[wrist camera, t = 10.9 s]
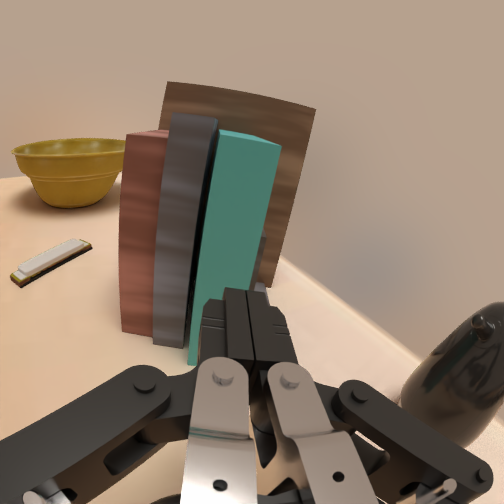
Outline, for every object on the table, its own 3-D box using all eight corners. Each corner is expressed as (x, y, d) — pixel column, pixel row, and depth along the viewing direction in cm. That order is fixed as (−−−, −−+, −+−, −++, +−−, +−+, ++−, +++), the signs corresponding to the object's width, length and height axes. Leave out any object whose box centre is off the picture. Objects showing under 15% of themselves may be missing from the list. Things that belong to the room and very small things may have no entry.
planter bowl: (-12, 221, 38) (-15, 155, 33) (41, 182, 66) (43, 137, 60) (127, 228, 49) (133, 155, 44) (141, 186, 77) (146, 140, 71)
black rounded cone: (366, 400, 24) (443, 267, 18) (434, 390, 26) (503, 280, 20) (398, 484, 15) (529, 353, 9) (469, 454, 16) (566, 340, 10)
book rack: (290, 357, 29) (370, 104, 18) (116, 337, 26) (132, 57, 15) (269, 283, 42) (313, 109, 32) (146, 266, 39) (169, 82, 29)
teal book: (229, 368, 26) (281, 146, 18) (187, 364, 25) (220, 134, 17) (223, 281, 40) (252, 135, 32) (194, 278, 39) (218, 129, 31)
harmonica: (21, 291, 27) (18, 277, 26) (11, 282, 27) (8, 269, 27) (92, 251, 40) (92, 239, 39) (80, 246, 41) (79, 234, 40)
